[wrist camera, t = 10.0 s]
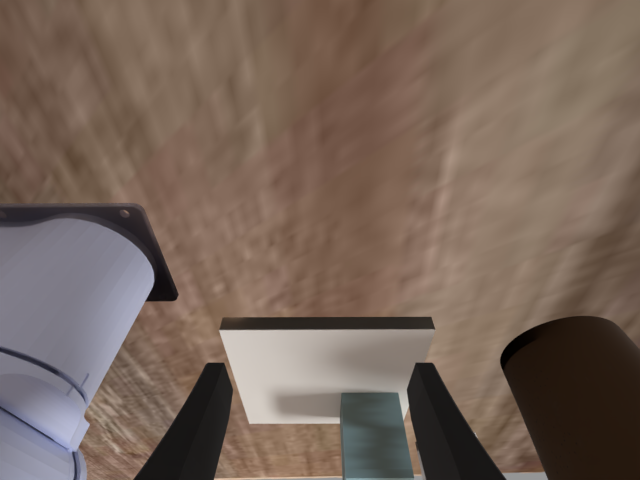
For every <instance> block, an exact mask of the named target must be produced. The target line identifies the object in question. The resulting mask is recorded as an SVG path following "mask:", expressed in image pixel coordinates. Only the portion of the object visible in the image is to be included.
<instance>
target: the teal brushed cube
mask: <svg viewBox="0 0 640 480" xmlns="http://www.w3.org/2000/svg"><path fill="white" fill-rule="evenodd" d="M340 437H341V459H342V480H414V474H413V469H412V463H411V458H410V453H409V447H408V442H407V437H406V431H405V426H404V421H403V415H402V410H401V405H400V399H399V394H398V393H341V406H340Z"/></svg>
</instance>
